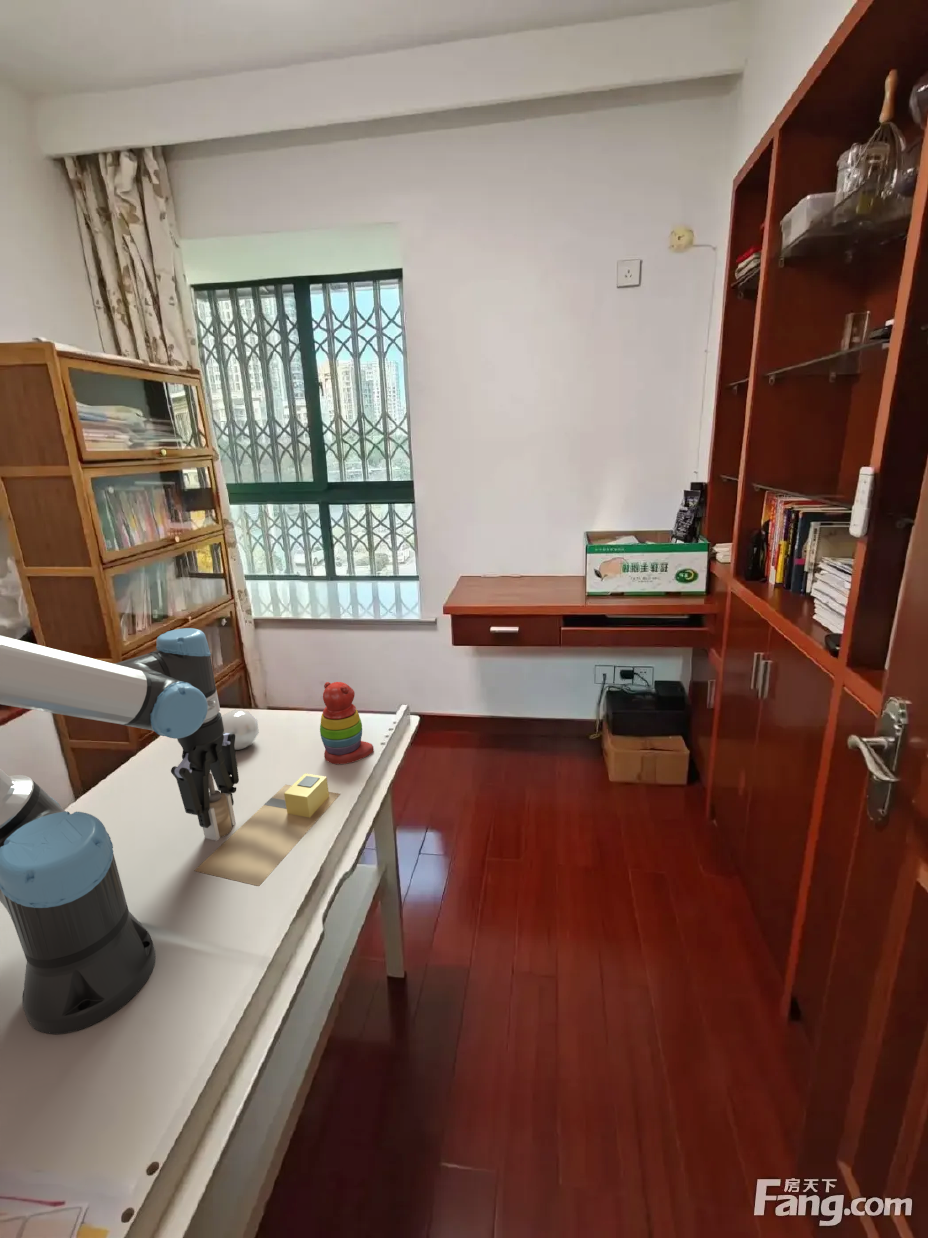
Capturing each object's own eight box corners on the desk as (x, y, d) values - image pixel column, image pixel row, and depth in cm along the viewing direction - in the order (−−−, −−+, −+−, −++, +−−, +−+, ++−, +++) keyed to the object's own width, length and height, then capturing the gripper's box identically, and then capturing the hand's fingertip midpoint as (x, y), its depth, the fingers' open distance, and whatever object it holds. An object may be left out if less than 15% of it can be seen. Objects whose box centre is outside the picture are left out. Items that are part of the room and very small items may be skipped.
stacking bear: (377, 750, 135) (370, 679, 129) (346, 770, 127) (337, 696, 121) (344, 738, 141) (336, 670, 135) (312, 757, 133) (302, 686, 127)
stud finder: (309, 817, 109) (306, 796, 108) (287, 813, 111) (283, 792, 110) (329, 796, 116) (326, 776, 114) (307, 792, 117) (304, 772, 116)
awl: (222, 845, 105) (210, 781, 101) (204, 841, 106) (191, 778, 102) (237, 831, 108) (225, 769, 105) (220, 827, 110) (207, 766, 106)
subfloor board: (273, 895, 93) (272, 889, 92) (183, 873, 98) (182, 868, 98) (352, 800, 116) (351, 795, 116) (276, 787, 122) (275, 782, 121)
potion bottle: (261, 754, 138) (203, 760, 140) (269, 718, 144) (213, 724, 146) (242, 738, 130) (181, 744, 132) (251, 700, 136) (193, 707, 138)
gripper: (178, 743, 91) (204, 865, 98) (247, 698, 106) (265, 807, 113) (141, 737, 94) (169, 857, 101) (213, 694, 109) (234, 801, 116)
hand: (220, 831), depth 107 cm, fingers closed on awl, 4 cm apart
